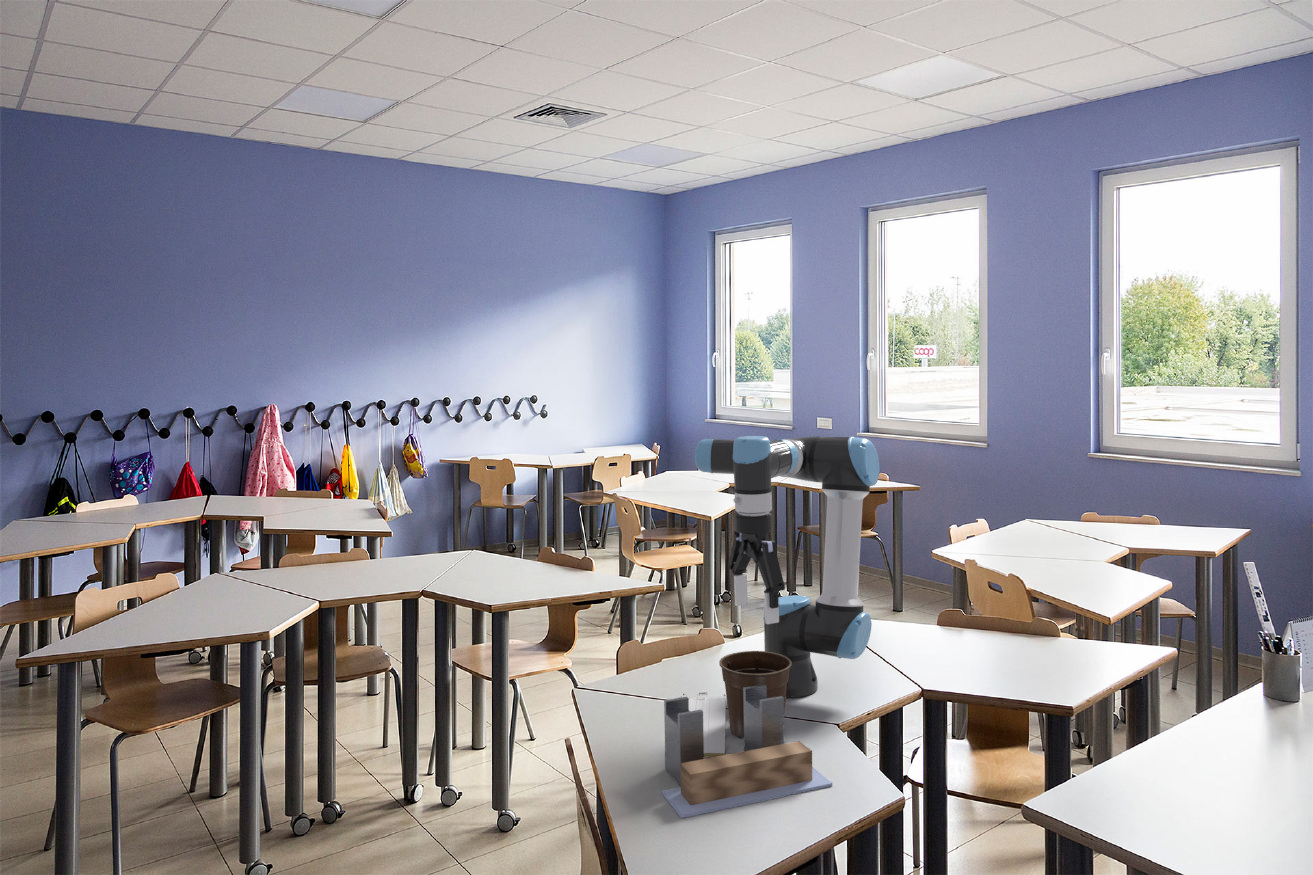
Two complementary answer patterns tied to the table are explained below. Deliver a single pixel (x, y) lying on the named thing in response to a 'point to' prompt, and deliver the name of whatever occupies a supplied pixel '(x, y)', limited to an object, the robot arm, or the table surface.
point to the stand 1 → (682, 735)
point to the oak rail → (745, 772)
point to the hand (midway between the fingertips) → (756, 613)
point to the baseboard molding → (711, 724)
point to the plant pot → (752, 680)
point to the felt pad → (742, 796)
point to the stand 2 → (762, 718)
